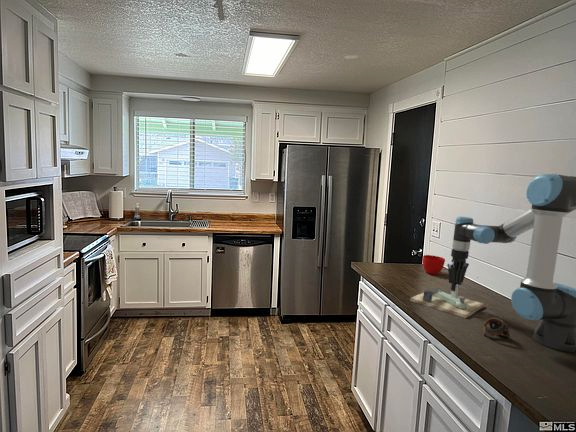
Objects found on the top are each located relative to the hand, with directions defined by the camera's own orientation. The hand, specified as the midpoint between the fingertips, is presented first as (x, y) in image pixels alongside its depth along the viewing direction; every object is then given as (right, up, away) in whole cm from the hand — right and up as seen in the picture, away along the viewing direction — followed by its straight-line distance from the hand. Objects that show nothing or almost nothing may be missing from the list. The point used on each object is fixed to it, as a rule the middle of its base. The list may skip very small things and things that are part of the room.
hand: (453, 297), depth 196 cm
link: (-3, -2, -1) cm, 3 cm away
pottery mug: (+2, -9, -35) cm, 36 cm away
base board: (-3, -3, 0) cm, 5 cm away
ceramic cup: (+11, +3, +60) cm, 61 cm away
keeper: (-12, -1, -1) cm, 12 cm away
